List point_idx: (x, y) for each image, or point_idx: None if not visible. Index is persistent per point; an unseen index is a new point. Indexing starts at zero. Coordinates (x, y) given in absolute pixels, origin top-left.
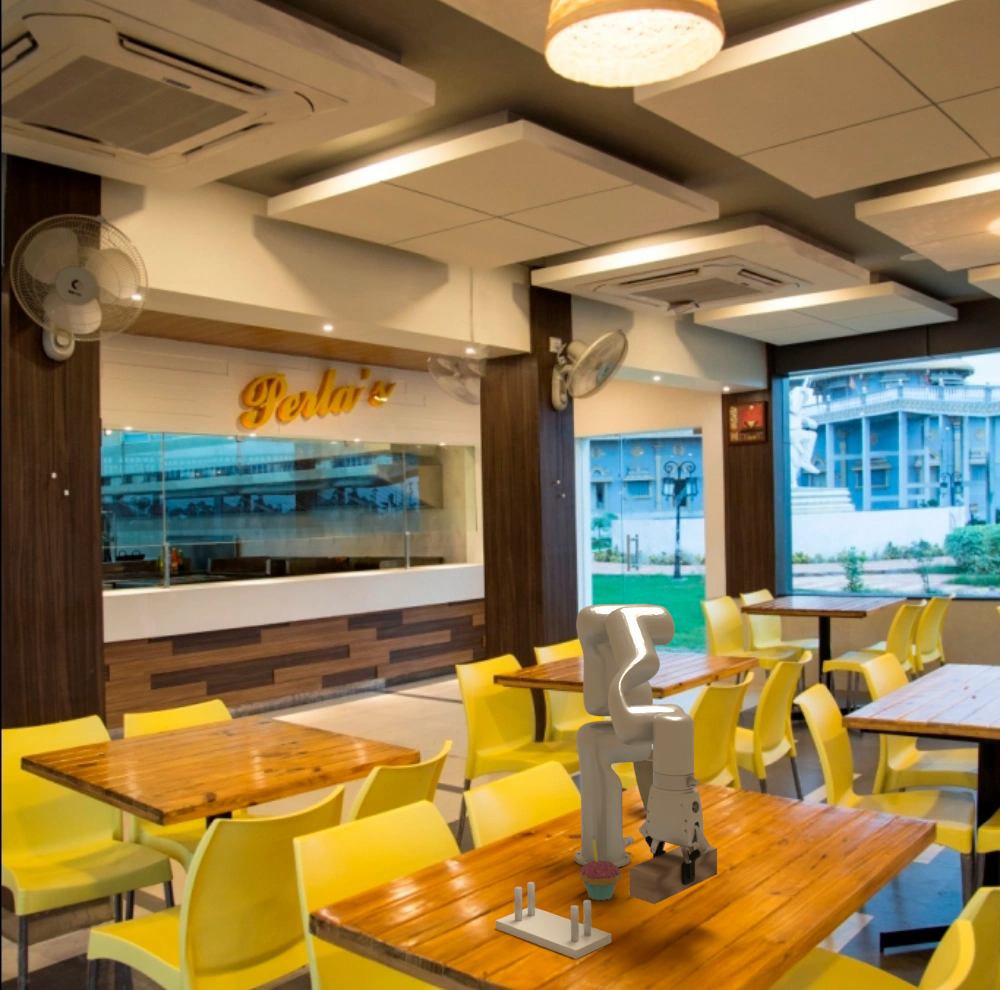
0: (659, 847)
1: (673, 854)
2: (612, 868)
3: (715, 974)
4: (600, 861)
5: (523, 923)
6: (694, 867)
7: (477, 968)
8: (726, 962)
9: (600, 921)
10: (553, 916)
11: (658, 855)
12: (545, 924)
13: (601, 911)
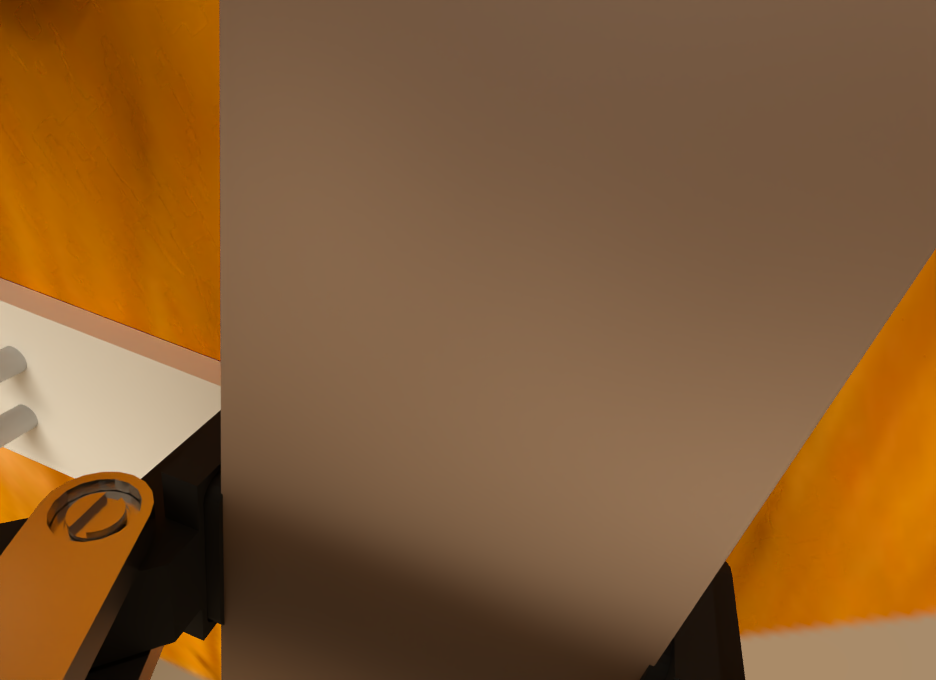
0: (123, 616)
1: (339, 532)
2: None
3: (862, 568)
4: None
5: (57, 437)
6: (735, 676)
7: (174, 645)
8: (912, 446)
9: (193, 219)
10: (71, 345)
11: (221, 614)
12: (106, 423)
13: (122, 93)
